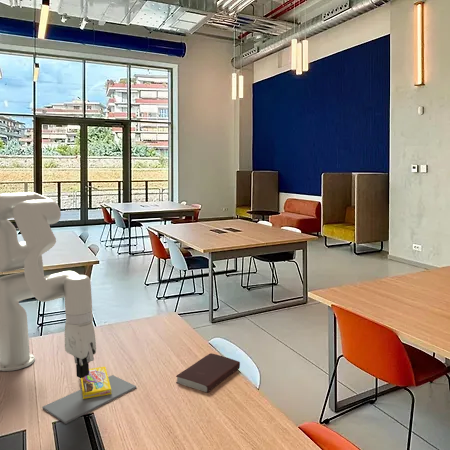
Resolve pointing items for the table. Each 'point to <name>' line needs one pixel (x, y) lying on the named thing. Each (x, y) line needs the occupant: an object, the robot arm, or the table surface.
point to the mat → (86, 401)
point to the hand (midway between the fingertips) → (83, 375)
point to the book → (208, 372)
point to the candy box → (95, 383)
